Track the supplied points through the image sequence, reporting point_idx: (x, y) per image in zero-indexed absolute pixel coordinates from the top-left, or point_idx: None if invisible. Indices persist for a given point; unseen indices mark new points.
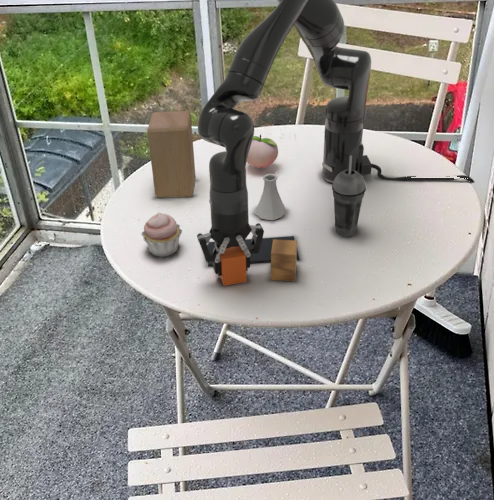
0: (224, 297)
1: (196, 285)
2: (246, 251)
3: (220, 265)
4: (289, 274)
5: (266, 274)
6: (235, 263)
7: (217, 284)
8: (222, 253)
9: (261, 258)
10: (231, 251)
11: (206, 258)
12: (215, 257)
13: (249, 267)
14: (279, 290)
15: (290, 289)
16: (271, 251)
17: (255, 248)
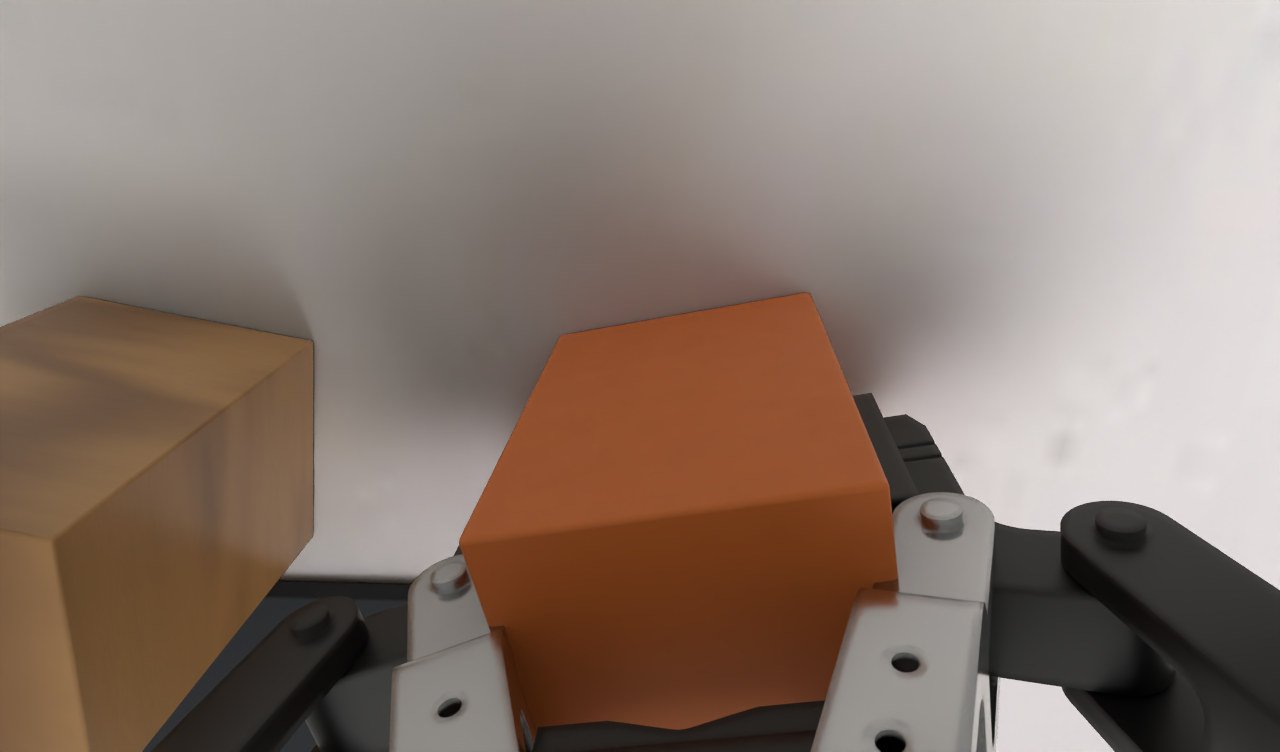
0: (824, 83)
1: (1114, 330)
2: (451, 630)
3: None
4: (68, 334)
5: (365, 426)
6: (651, 447)
7: (874, 324)
8: (885, 602)
9: None
10: (697, 660)
11: (1184, 545)
12: (992, 562)
13: None
14: (210, 162)
15: (100, 170)
16: (56, 580)
17: (296, 666)
